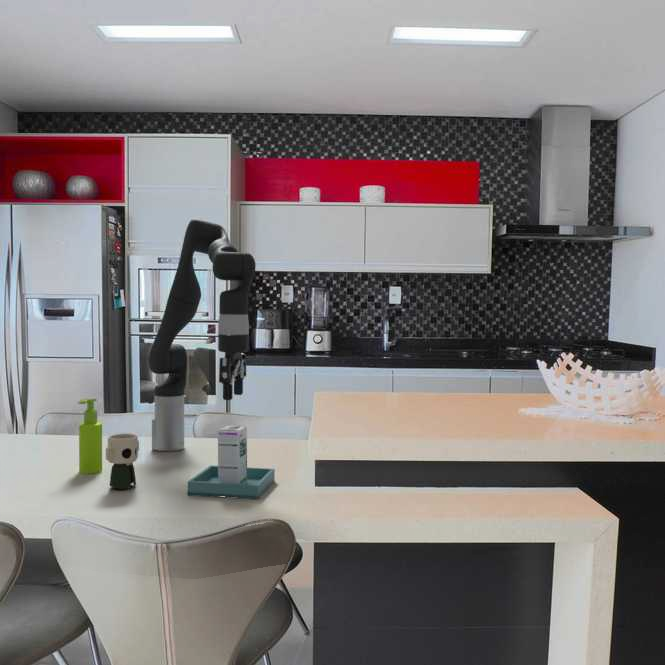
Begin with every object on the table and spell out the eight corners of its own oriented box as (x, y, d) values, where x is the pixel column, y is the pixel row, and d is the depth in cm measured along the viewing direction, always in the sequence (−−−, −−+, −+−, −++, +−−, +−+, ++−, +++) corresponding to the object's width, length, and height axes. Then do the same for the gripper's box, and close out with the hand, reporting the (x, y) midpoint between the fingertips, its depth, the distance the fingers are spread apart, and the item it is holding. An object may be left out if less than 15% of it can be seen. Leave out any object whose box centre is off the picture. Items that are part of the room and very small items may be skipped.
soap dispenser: (71, 473, 169) (71, 400, 168) (89, 467, 175) (89, 396, 174) (89, 475, 167) (89, 401, 166) (106, 469, 173) (106, 397, 172)
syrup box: (239, 488, 154) (240, 430, 153) (217, 486, 155) (217, 429, 155) (247, 482, 160) (247, 425, 159) (225, 480, 161) (225, 424, 160)
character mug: (117, 495, 150) (117, 441, 150) (95, 491, 153) (95, 438, 153) (149, 483, 160) (149, 433, 159) (127, 480, 163) (127, 430, 162)
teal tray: (187, 495, 151) (187, 481, 151) (210, 477, 166) (210, 465, 166) (258, 499, 148) (258, 485, 148) (274, 481, 164) (274, 468, 164)
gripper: (228, 331, 163) (227, 392, 164) (209, 333, 149) (208, 401, 150) (256, 331, 162) (255, 393, 163) (239, 334, 148) (238, 402, 149)
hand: (233, 397), depth 156 cm, fingers open, 8 cm apart
